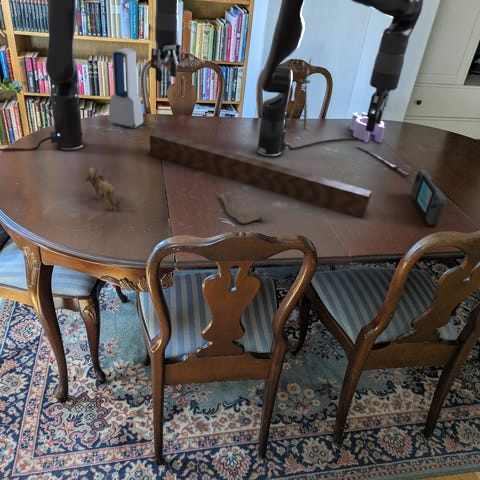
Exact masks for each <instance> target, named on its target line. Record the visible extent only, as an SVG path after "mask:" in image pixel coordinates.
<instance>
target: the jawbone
mask: <svg viewBox="0 0 480 480" xmlns="http://www.w3.org/2000/svg"><path fill="white" fill-rule="evenodd" d="M218 197H219V198H220V199H221V200H222V203H223V205H224V208H225V211H226V214H228V215H229V216H230V217H232V218H233V219H234V220H237V222H238V223H240V224H243V225H244V224H249V223H251V222H254V221H256V220H257V221H259V222H262V221H263V220H264V219H263V218H264V216H267V217H268V216H270V215H271V214H270V213H269V212H267V211H261V210H260V211H255V212H253V213H243V212H242V211H241V210H239V209H238V208H237V207H236V206H235V205H234V203H233V202H229V201H228V199H227V197H226V196H225V194H224V193H218Z"/></svg>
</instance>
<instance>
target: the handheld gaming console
mask: <svg viewBox="0 0 480 480" xmlns="http://www.w3.org/2000/svg"><path fill="white" fill-rule="evenodd" d="M410 192H411V193H410V195H411V197H412V199H413V201H414V203H415V205H416V207H417V208H418V210H419V211H420V213H421V215H422V216H423V218H424V220H425V221H426V223H427V224H428V225H429V226H430V227H437V225H439V224H440V221H441V218H442V215H443V213H444V210H445V208H446V204H447V198H446V196H445V195H444V193H443V191H442V190H441V189H440V188H439V186H438V185H437V183H436V182H435V181H434V179H433V178H432V177H431V175H430V174H429V172H427V171H426V170H425V169H419V170H417V172H416V175H415V178H414V181H413V185H412V188H411V191H410Z"/></svg>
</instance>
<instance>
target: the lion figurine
mask: <svg viewBox="0 0 480 480" xmlns="http://www.w3.org/2000/svg"><path fill="white" fill-rule="evenodd" d="M82 177H83V178H84V179H85V181H86V182H89V184H91V185H92V187H93V188H94V192H95V196H94V199H95V200H98V199H100V195H101V196H102V197H104V200H105V202H106V203H107V205H108V206H107V210H108V211H109V210H112V204H113V205H114V207H115V208H116V209H118V210H120V209H121V207H120V206H119V205H118V204H117V201H116V197H115V196H116V194H115V193H116V191H115V188H114V186H113V184H111V183H109V182H108V181H107V180H106V178H105V176H104V175H103V173H102V172H101V171H100V170H99V169H97V168H95V167H88V171H87V172H86V173H85V174H84V175H83V176H82ZM100 192H101V194H100ZM110 198H111V201H110Z"/></svg>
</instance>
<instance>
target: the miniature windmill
mask: <svg viewBox="0 0 480 480" xmlns="http://www.w3.org/2000/svg"><path fill="white" fill-rule="evenodd" d="M311 60H312V58H311V57H310V58H309V61H308V67H307V66H306V67H304V66H302V65H300V64H299V65H298V64H296V67H295V71H304V75H303V78H302V79H301V78H300V79H299V81H298V82H299V83H301V84H300V85H299V89H298V91H297V95H296V98H295V100H294V104H293V107H292V110H291V113H290V116H289V118H288V119H289V120H288V123H287V125H286V126H287V127H289V126H290V123H291V121H293V120H294V121H299V122H303V130H306V125H307V119H308V115H307V107H308V105H307V98H308V96H307V88H308V86H307V84H311V80H309V79H308V78H309V74H310V66H311V62H312V61H311ZM306 73H307V74H306ZM302 90H304V94H300V93H301V91H302ZM299 99H302V100H304V103H303V104H302V103H297V102H298V100H299ZM297 106H303V107H297ZM295 109H299V110H303V112H304V113H303V114H296V113H294V112H295ZM293 116H297V117H303V119H297V118H292V117H293Z"/></svg>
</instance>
